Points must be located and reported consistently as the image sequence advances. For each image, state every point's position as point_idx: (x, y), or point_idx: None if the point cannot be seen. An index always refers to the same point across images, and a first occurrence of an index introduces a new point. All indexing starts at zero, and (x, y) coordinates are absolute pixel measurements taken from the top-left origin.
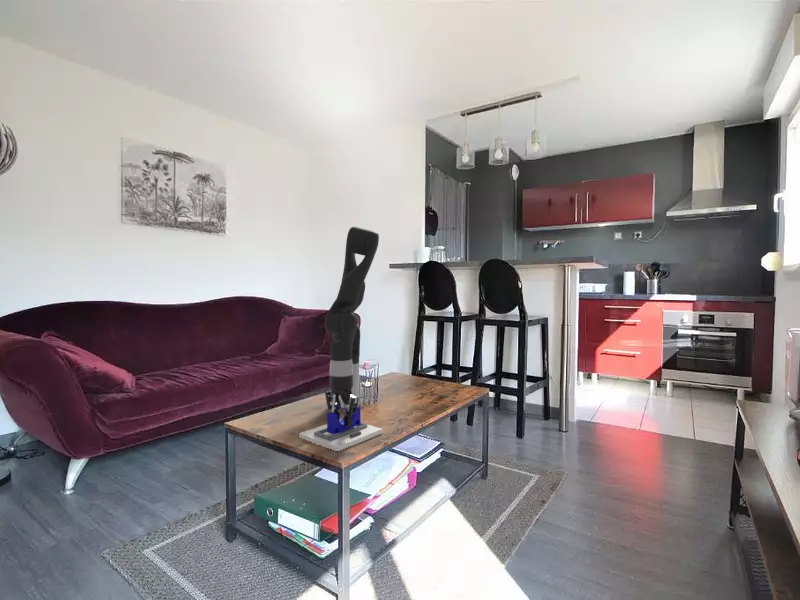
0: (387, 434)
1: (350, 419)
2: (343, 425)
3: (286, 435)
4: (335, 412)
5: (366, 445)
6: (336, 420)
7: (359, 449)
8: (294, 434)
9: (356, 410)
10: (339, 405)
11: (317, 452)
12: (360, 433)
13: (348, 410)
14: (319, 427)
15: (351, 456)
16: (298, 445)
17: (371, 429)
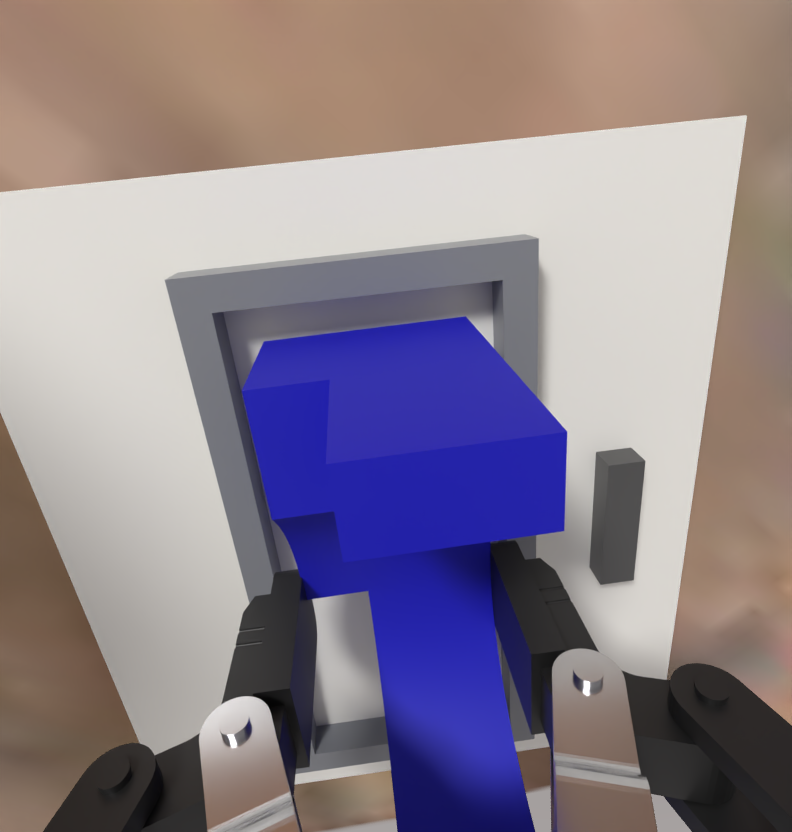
0: (783, 96)
1: (576, 622)
2: (492, 630)
3: (50, 800)
4: (295, 754)
5: (752, 481)
6: (524, 804)
7: (749, 566)
8: (64, 757)
9: (780, 716)
10: (297, 822)
11: (526, 772)
12: (635, 459)
13: (565, 735)
14: (122, 637)
15: (773, 663)
16: (319, 806)
17: (632, 253)
